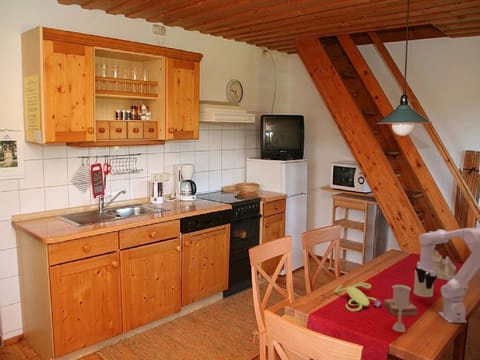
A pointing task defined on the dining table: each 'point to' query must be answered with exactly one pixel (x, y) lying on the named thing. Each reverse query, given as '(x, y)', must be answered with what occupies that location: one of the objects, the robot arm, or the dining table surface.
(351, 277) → the dining table surface
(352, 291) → the figurine
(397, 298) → the chalice
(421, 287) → the can
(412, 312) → the plinth
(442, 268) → the ceramic cottage
